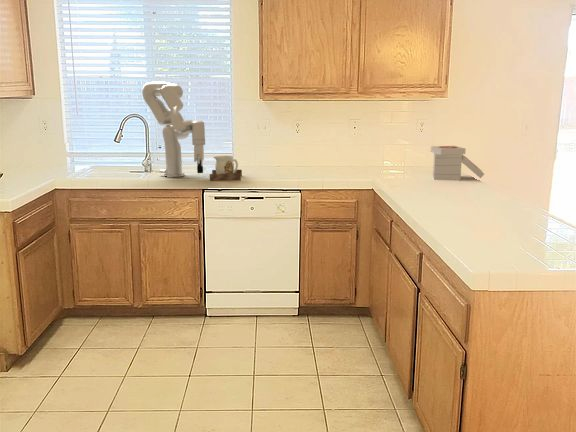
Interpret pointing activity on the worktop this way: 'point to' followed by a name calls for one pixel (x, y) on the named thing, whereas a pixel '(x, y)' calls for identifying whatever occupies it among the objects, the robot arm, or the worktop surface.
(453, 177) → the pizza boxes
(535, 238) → the worktop surface
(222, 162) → the pitcher
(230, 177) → the wooden planks
